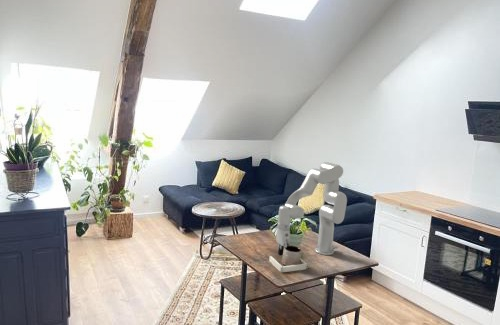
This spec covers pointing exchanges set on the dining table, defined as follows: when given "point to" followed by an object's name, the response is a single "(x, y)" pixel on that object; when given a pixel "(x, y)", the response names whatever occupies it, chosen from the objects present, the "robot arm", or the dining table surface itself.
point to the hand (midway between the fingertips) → (280, 254)
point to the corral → (301, 266)
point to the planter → (291, 255)
